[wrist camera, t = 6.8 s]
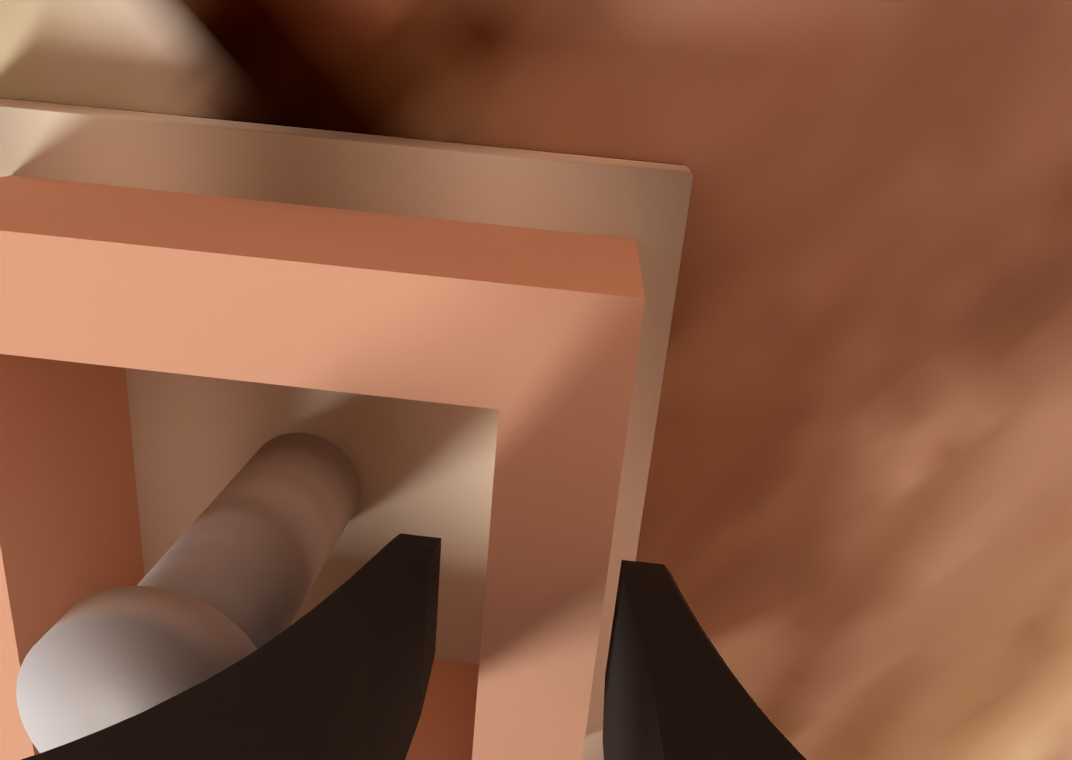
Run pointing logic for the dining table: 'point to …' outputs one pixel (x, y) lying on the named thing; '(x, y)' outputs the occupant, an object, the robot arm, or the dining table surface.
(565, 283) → the pink square frame
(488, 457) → the thin beige base plate
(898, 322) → the dining table surface
